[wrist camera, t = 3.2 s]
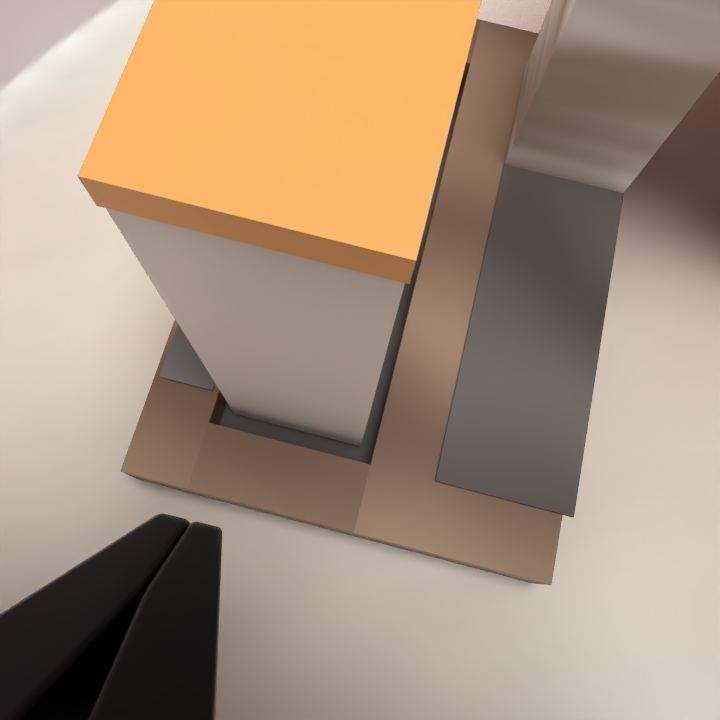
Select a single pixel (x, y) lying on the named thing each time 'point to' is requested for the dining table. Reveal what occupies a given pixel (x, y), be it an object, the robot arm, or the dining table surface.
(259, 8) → the switch tab
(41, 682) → the robot arm
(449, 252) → the switch board
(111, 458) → the dining table surface
